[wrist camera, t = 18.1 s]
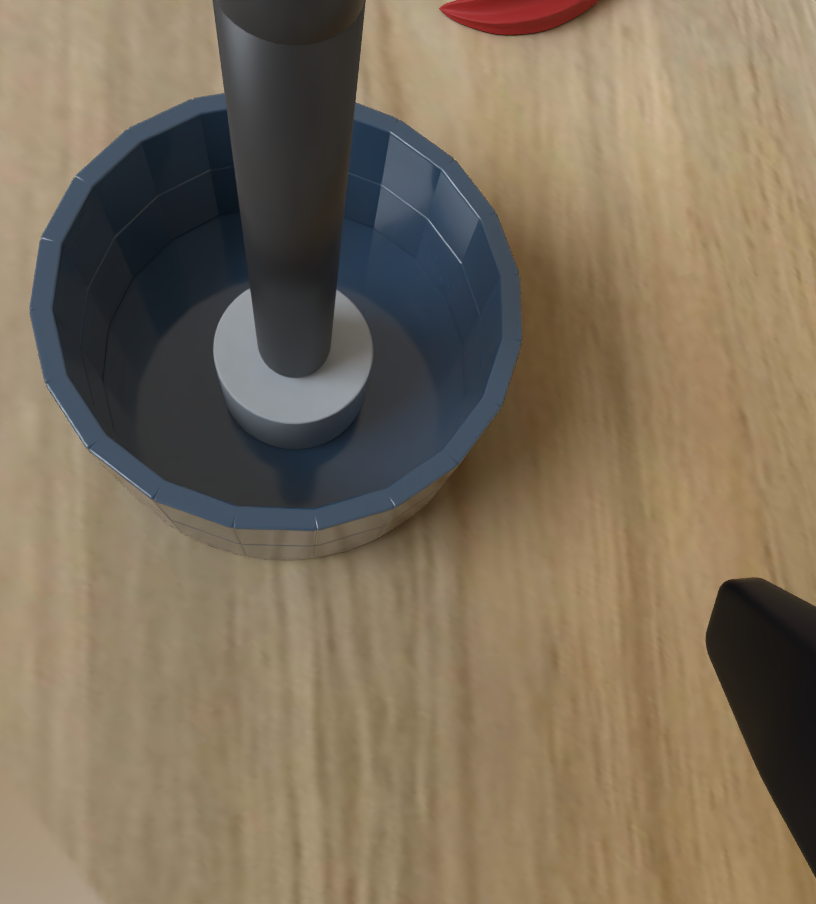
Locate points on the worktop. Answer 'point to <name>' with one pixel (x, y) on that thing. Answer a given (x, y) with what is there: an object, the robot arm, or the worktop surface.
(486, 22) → the cayenne pepper
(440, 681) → the worktop surface
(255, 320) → the joystick
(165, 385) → the bowl
